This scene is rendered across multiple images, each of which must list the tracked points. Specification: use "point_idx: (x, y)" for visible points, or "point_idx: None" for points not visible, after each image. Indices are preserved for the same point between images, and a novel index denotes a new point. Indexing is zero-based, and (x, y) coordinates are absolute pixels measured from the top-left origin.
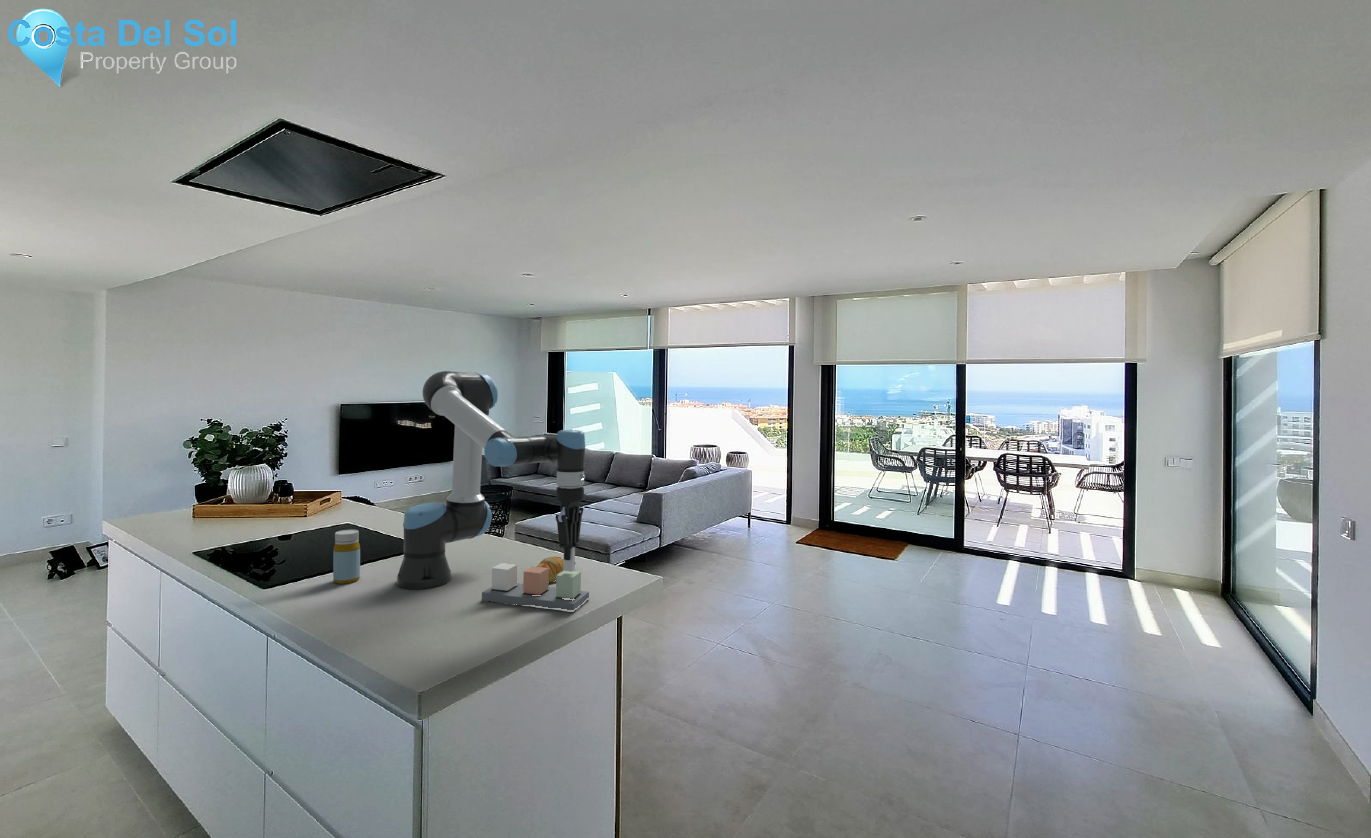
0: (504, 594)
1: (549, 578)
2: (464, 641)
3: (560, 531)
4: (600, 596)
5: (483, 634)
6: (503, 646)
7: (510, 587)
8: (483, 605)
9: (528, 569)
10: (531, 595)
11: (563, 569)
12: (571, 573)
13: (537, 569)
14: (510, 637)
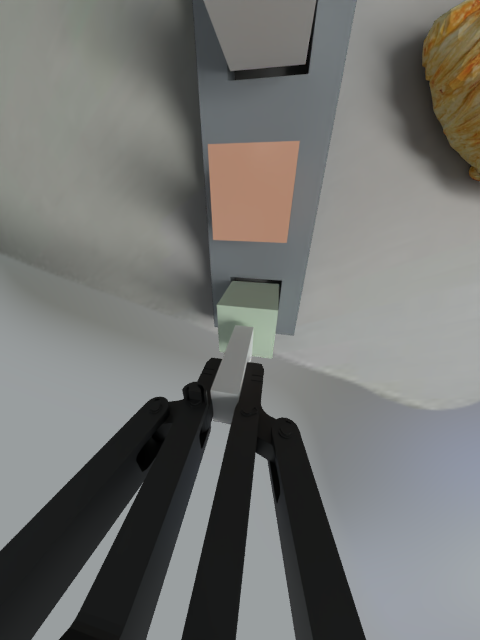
0: (203, 84)
1: (464, 147)
2: (13, 171)
3: (49, 521)
4: (321, 339)
5: (56, 191)
6: (57, 260)
7: (252, 65)
8: (171, 14)
9: (243, 150)
10: None
11: (234, 327)
12: None
13: (257, 200)
14: (83, 254)
